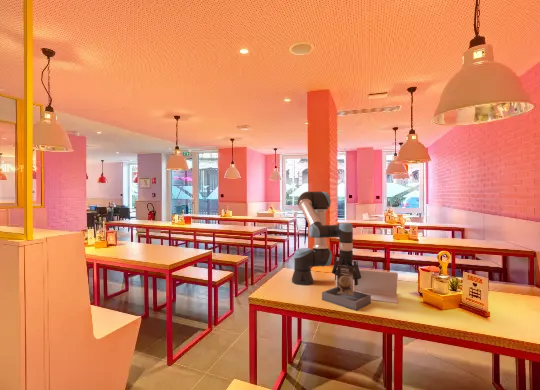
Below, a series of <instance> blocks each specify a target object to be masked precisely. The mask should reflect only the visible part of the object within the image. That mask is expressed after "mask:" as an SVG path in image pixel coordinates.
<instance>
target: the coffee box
mask: <svg viewBox="0 0 540 390" xmlns="http://www.w3.org/2000/svg"><path fill="white" fill-rule="evenodd" d="M352 265H353V266H351V267H348V266H345V265H339V264H338V265H337V294H343V295H349V296H353V295H354V294H355V291H353V279H354V277H353V271H354V270H355V268H354V264H352Z"/></svg>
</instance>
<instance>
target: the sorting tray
mask: <svg viewBox="0 0 540 390" xmlns="http://www.w3.org/2000/svg"><path fill="white" fill-rule="evenodd" d="M321 301H324V302H328V303H331V304H334V305H336V306H340V307H342V308H346V309H349V310H352V311H356V312H357V311H359V310H361V309H362V308H365V307H366V306H369V305H370V304H372V301H371V295H368V294H364V293H360V292H356V291H355V294H354V295H353V296H349V295H343V294H337V287H336V286H335V287H332V288H330V289H329V288H328V289H326V290H324V291H322V292H321Z"/></svg>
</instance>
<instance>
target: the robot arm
mask: <svg viewBox="0 0 540 390" xmlns="http://www.w3.org/2000/svg"><path fill="white" fill-rule="evenodd" d="M331 204H332V201H331V195H329V193H328V192H327V191H322V190H321V191H305V192H302V193H301V194H300V195H299V196H298V198H297V206H298V208H299V210H300V211H302V213H303V216H304V218H305V219H306V222H307V223H308V236H309V237H310V238H311V239H312V238H314V244H313V246H312V249H311V248H310V247H309V248H308V247H301V248H297V249H296V250H295V251H294V253H293V254H294V255H293V258H294V259H293V261H294V265H293V266H294V268H293V274H292V276H291V282H292V283H293V284H295V285H301V286H307V285H312V284H313V283H314V278H313V275H312V270H311V269H312V268H313V267H314V268H316V267H322V268H323V267H329V266H330V265H331V264H332V260H333V253H332V250H331V249H330V248H329V246H328V245H327V244H328V243H327V238H339V239H338V240H339V241H338V242H339V243H338V248H339V251H338V254H339V257H338V256H336V257H334V264H333V266H332V271H331V274H334V280H335V287H337V265H345V266H348V267H351V266H353V265H354V268H355V270H354V271H353V277H354V279H353V291H356V290H357V285H358V279H360V278H361V274H360V271H359V269H360V267H359V262H358V261H359V260H356V259H355V260H354V257H353V255H354V253H353V249H354V246H353V245H354V244H353V243H354V242H353V241H354V240H353V239H354V238H353V237H354V234H353V233H354V227H353V224H352V222H340V223H339V224H338V223H337V224H328V225H327V213H326V212H328V210H329V208H330V207H331Z"/></svg>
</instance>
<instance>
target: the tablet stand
mask: <svg viewBox="0 0 540 390" xmlns="http://www.w3.org/2000/svg"><path fill="white" fill-rule="evenodd" d="M359 271H360V274H361V278H360V279H358V285H357V290H356V292H360V293H364V294H368V295H371V302H372V301H373V302H379V303H390V304H399V301H398V300H399V299H398V296H397V293H398V279H399V273H398V272H392V271H382V270H381V271H380V270H372V269H360V268H359Z"/></svg>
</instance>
